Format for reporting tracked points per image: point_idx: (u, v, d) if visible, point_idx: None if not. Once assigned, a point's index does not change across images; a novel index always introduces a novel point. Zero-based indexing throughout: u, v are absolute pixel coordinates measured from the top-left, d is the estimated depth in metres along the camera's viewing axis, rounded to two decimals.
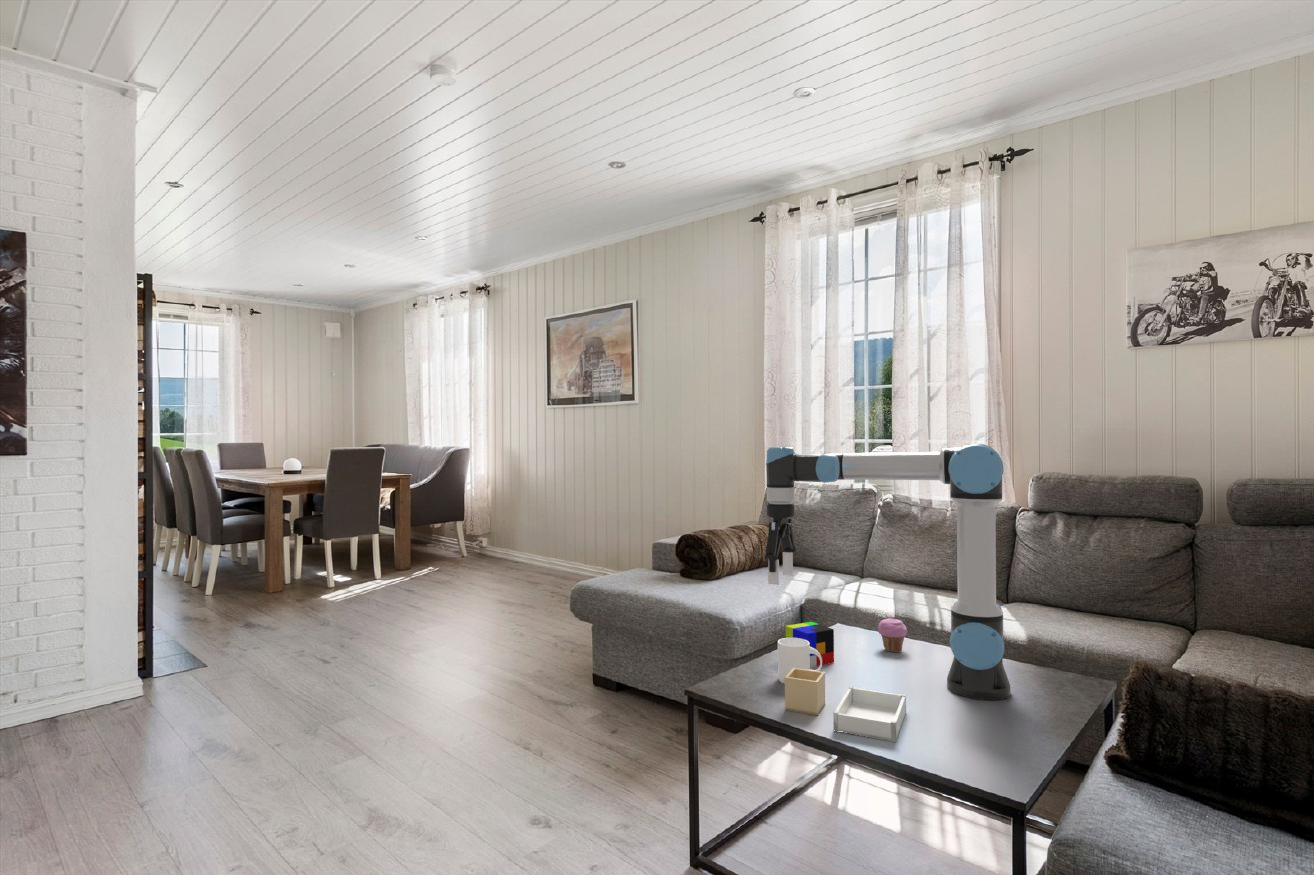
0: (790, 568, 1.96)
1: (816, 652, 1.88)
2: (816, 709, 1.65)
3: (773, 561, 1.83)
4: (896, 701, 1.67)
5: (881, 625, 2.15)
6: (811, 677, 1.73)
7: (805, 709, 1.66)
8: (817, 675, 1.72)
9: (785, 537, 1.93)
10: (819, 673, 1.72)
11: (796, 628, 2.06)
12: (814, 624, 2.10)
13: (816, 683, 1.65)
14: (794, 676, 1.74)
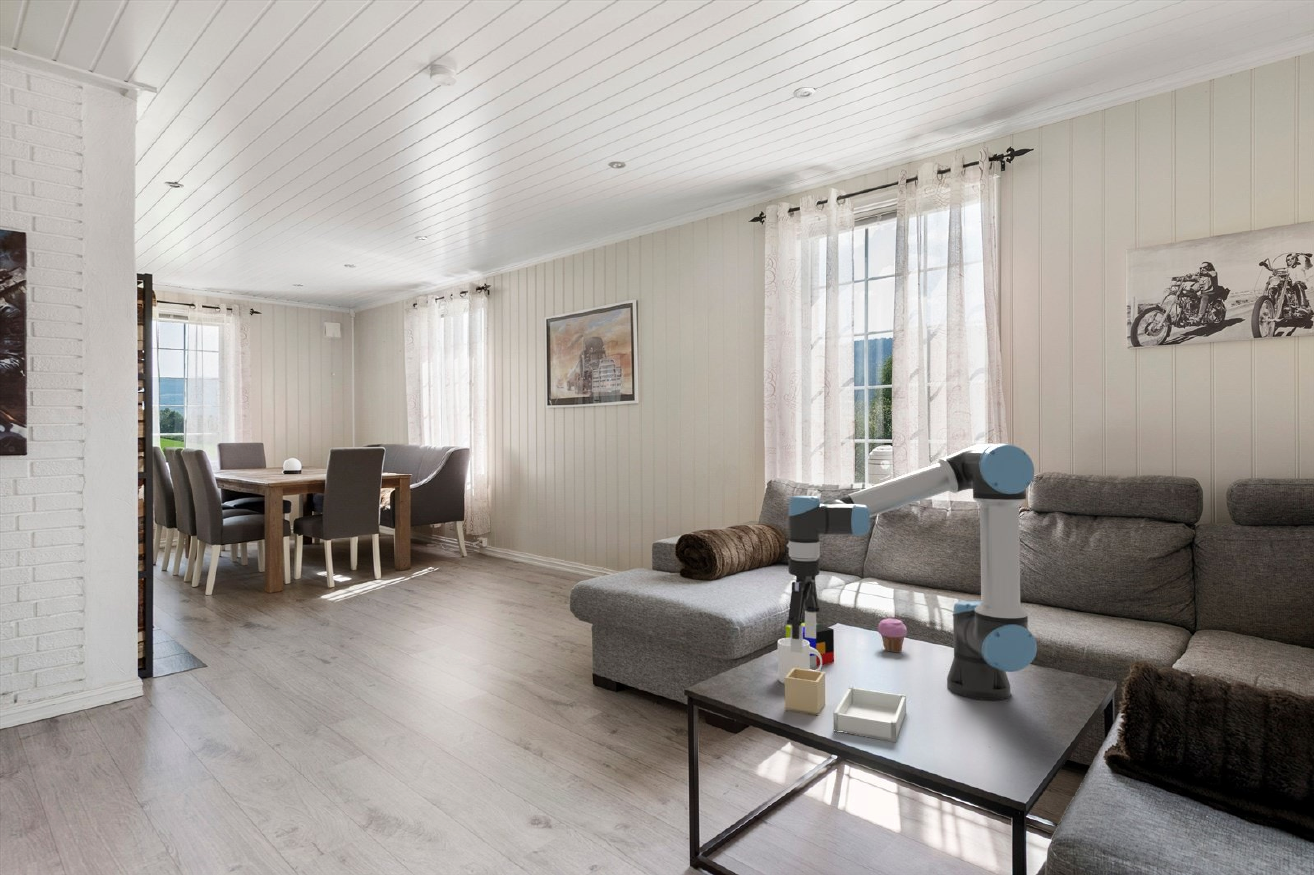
0: (813, 630, 1.75)
1: (816, 652, 1.88)
2: (816, 709, 1.65)
3: (796, 627, 1.62)
4: (896, 701, 1.67)
5: (881, 625, 2.15)
6: (811, 677, 1.73)
7: (805, 709, 1.66)
8: (817, 675, 1.72)
9: (808, 596, 1.73)
10: (819, 673, 1.72)
11: None
12: None
13: (816, 683, 1.65)
14: (794, 676, 1.74)
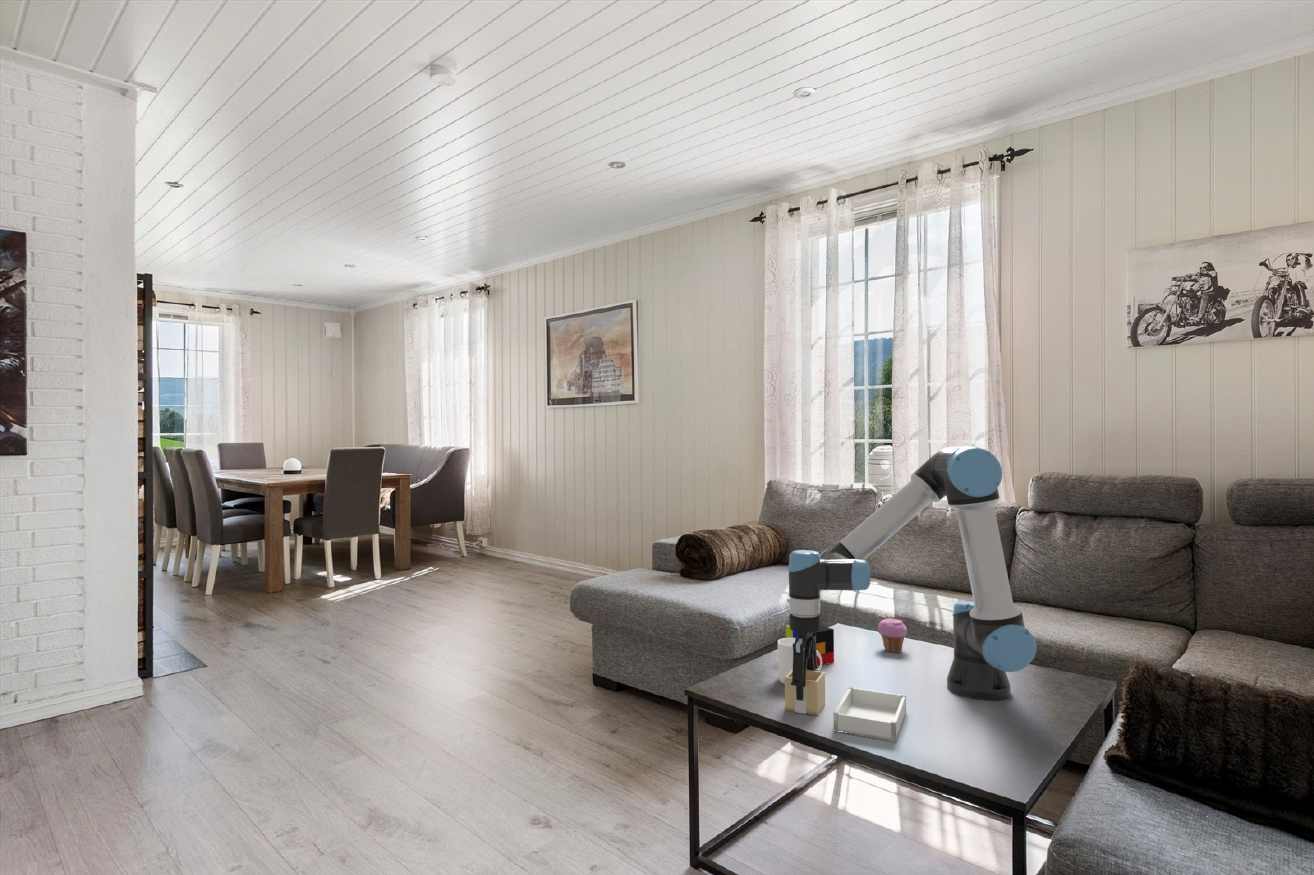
0: None
1: (816, 652, 1.88)
2: (816, 709, 1.65)
3: (800, 688, 1.64)
4: (896, 701, 1.67)
5: (881, 625, 2.15)
6: (811, 677, 1.73)
7: None
8: (817, 675, 1.72)
9: None
10: (819, 673, 1.72)
11: None
12: None
13: (816, 683, 1.65)
14: None
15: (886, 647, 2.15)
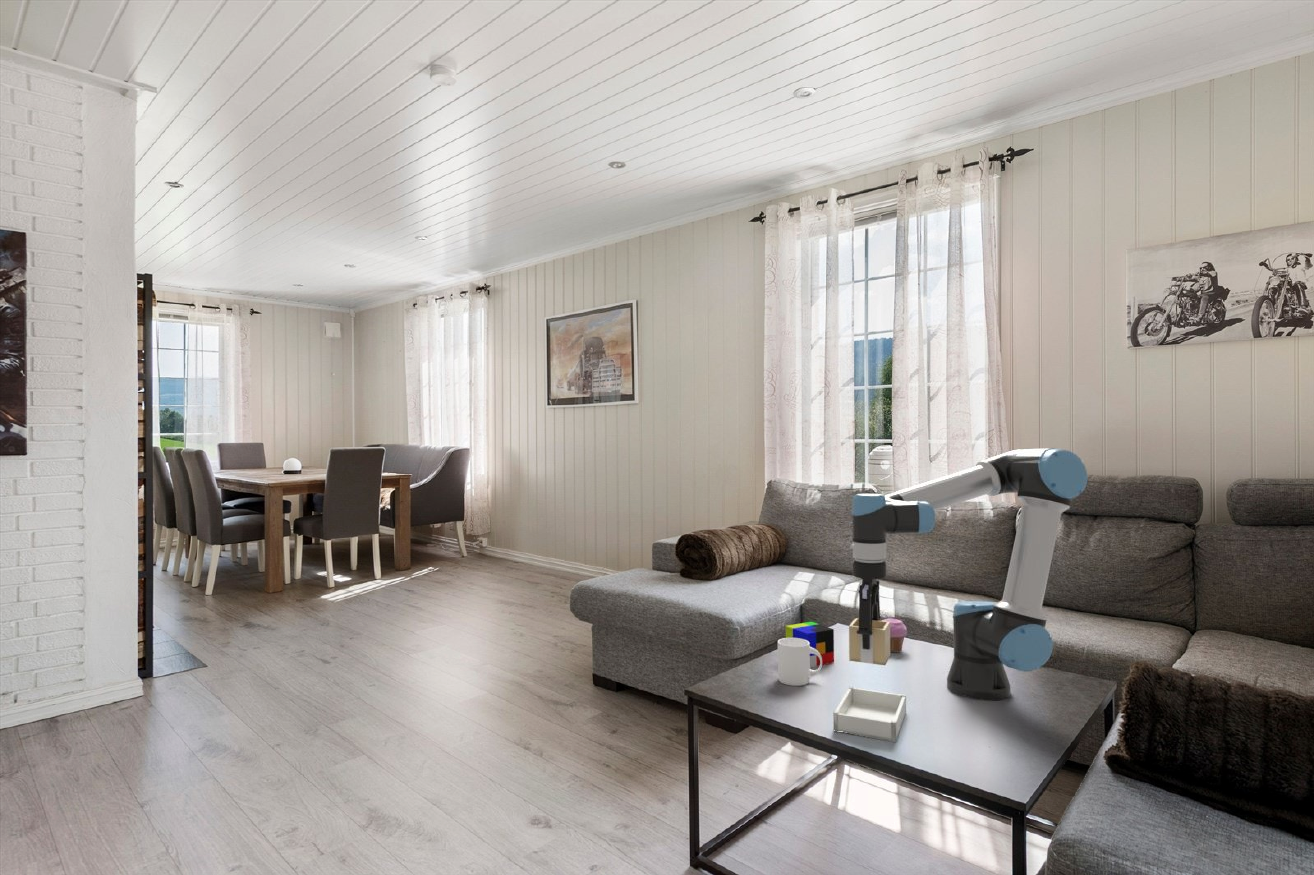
0: None
1: (816, 652, 1.88)
2: (883, 658, 1.56)
3: (867, 636, 1.56)
4: (896, 701, 1.67)
5: None
6: (875, 627, 1.64)
7: None
8: (881, 625, 1.63)
9: None
10: (884, 623, 1.63)
11: (796, 628, 2.06)
12: (814, 624, 2.10)
13: (883, 631, 1.56)
14: None
15: None
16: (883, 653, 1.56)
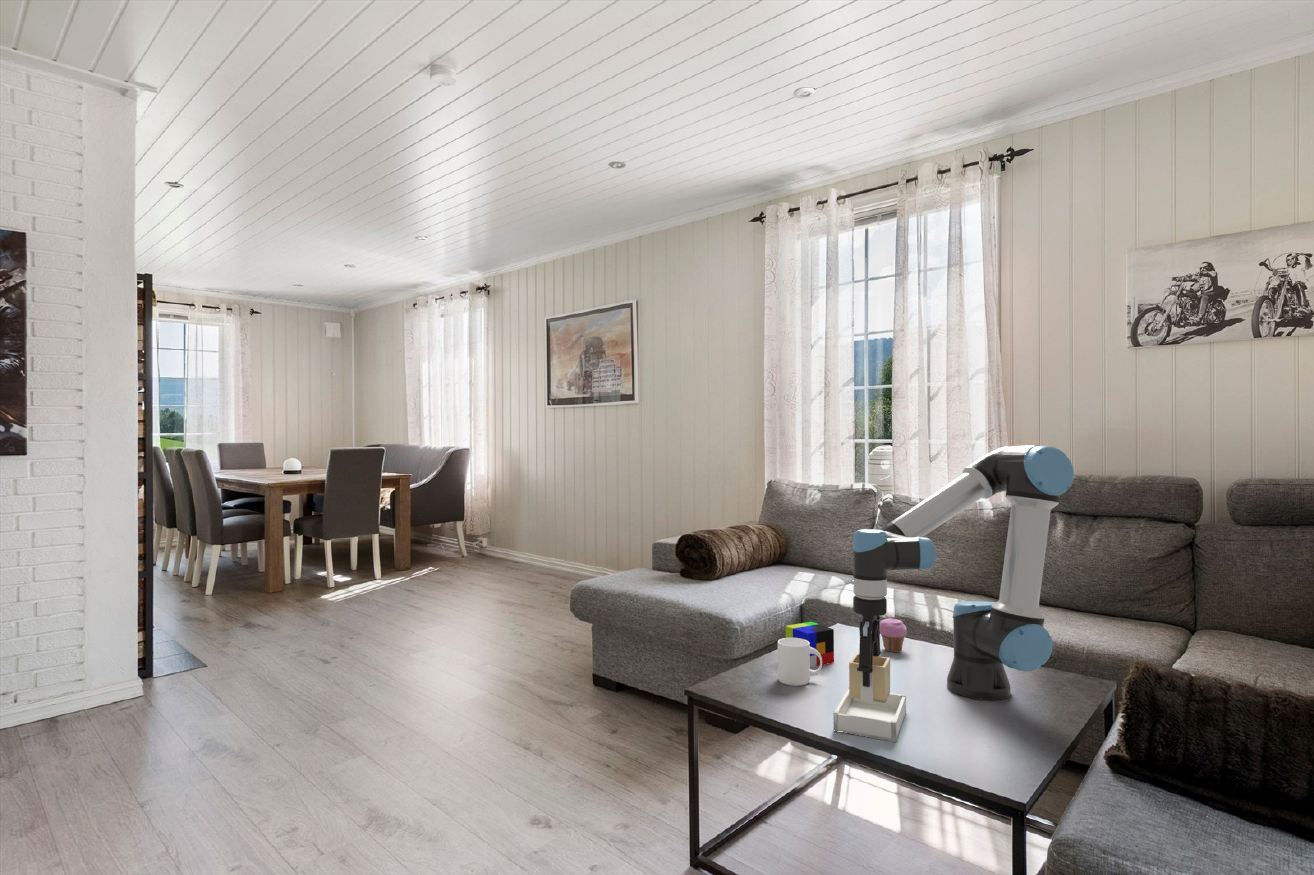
0: None
1: (816, 652, 1.88)
2: (883, 696, 1.56)
3: (867, 674, 1.55)
4: (896, 701, 1.67)
5: (881, 625, 2.15)
6: (875, 663, 1.64)
7: None
8: (882, 661, 1.63)
9: None
10: (884, 659, 1.63)
11: (796, 628, 2.06)
12: (814, 624, 2.10)
13: (884, 668, 1.56)
14: (857, 662, 1.65)
15: (886, 647, 2.15)
16: (883, 691, 1.56)
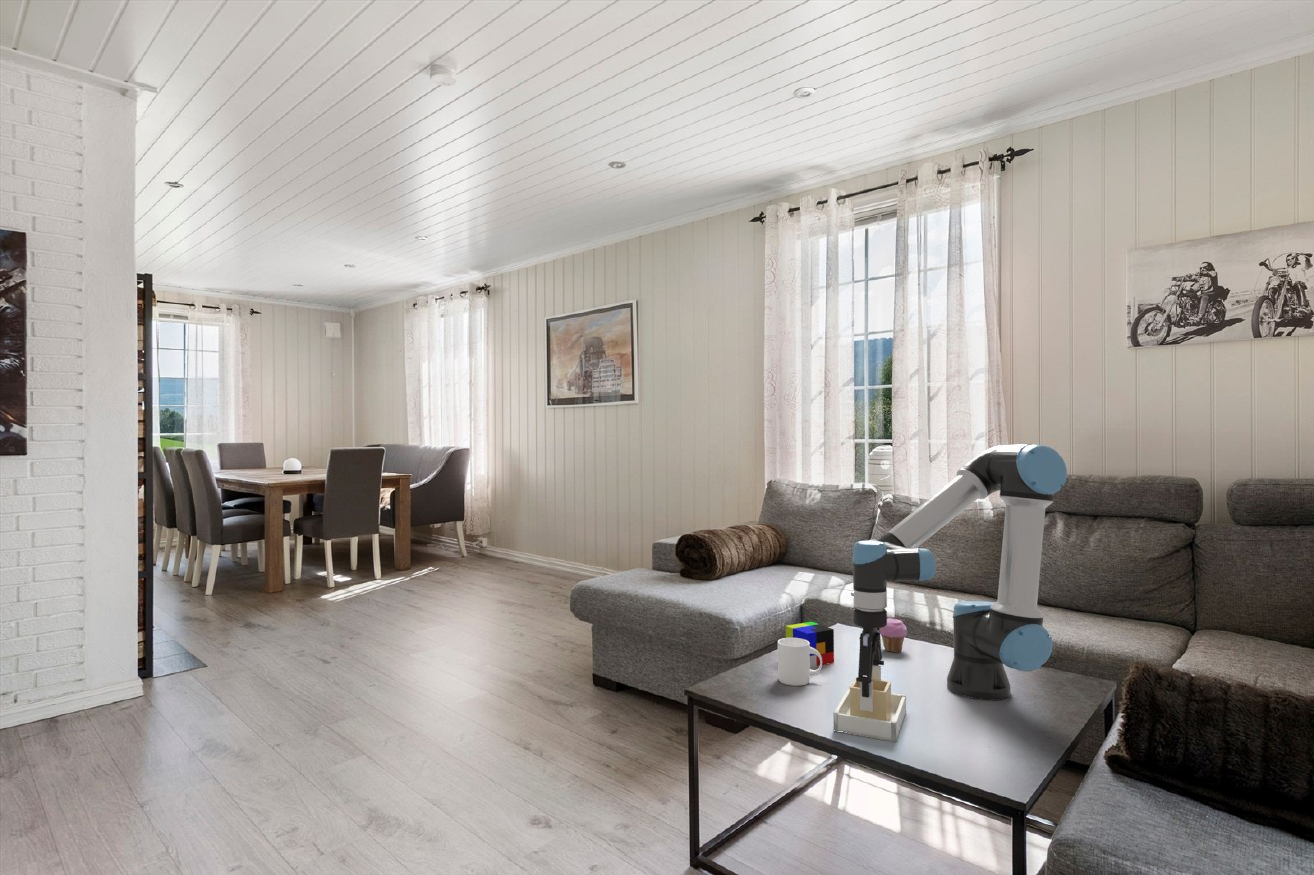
0: None
1: (816, 652, 1.88)
2: None
3: (867, 684, 1.54)
4: (896, 701, 1.67)
5: None
6: (876, 687, 1.64)
7: None
8: (882, 685, 1.63)
9: None
10: (885, 682, 1.63)
11: (796, 628, 2.06)
12: (814, 624, 2.10)
13: (884, 693, 1.56)
14: (858, 686, 1.65)
15: (886, 647, 2.15)
16: (884, 716, 1.56)
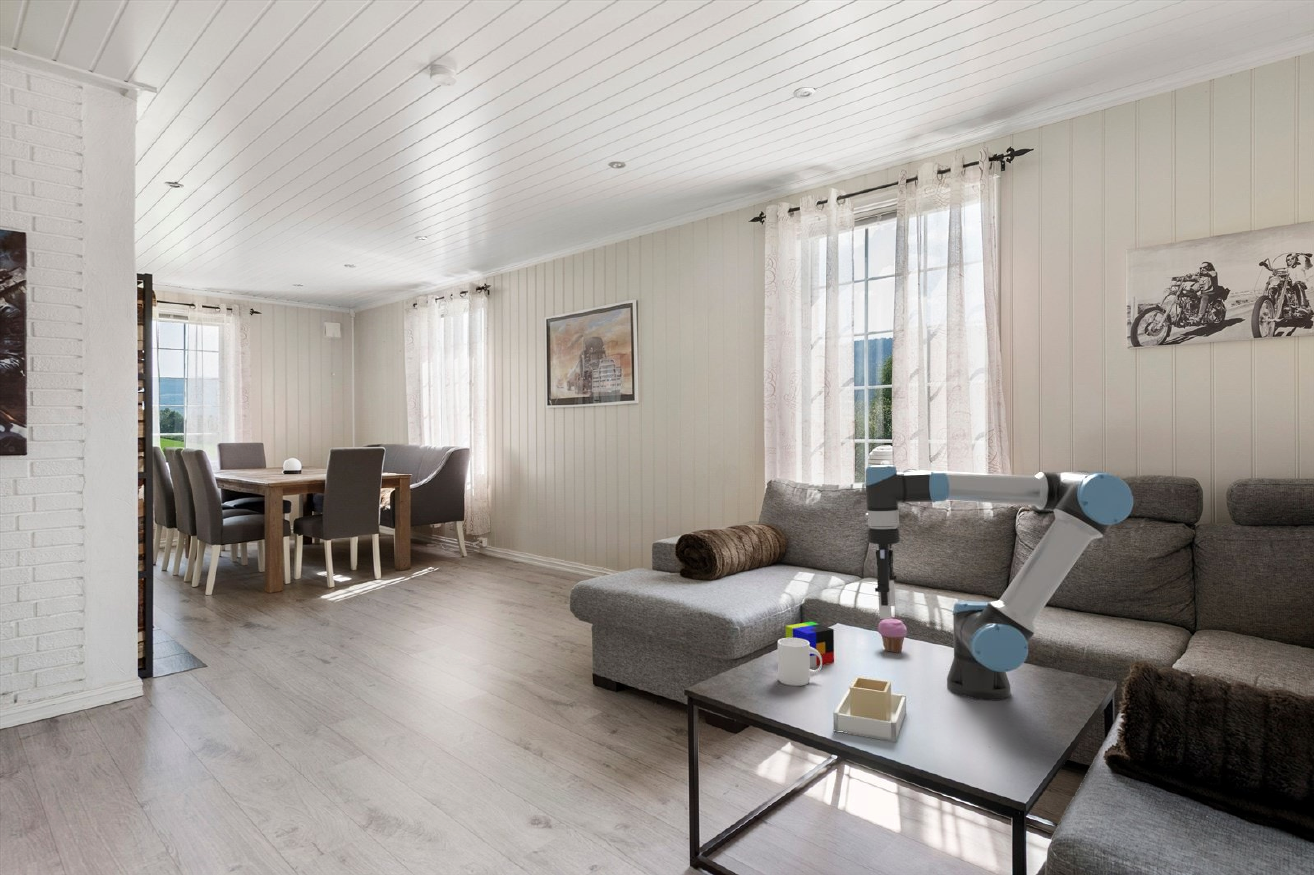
0: (892, 598, 1.78)
1: (816, 652, 1.88)
2: None
3: (885, 593, 1.64)
4: (896, 701, 1.67)
5: (881, 625, 2.15)
6: (876, 687, 1.64)
7: None
8: (882, 685, 1.63)
9: None
10: (885, 682, 1.63)
11: (796, 628, 2.06)
12: (814, 624, 2.10)
13: (884, 693, 1.56)
14: (858, 686, 1.65)
15: (886, 647, 2.15)
16: (884, 716, 1.56)
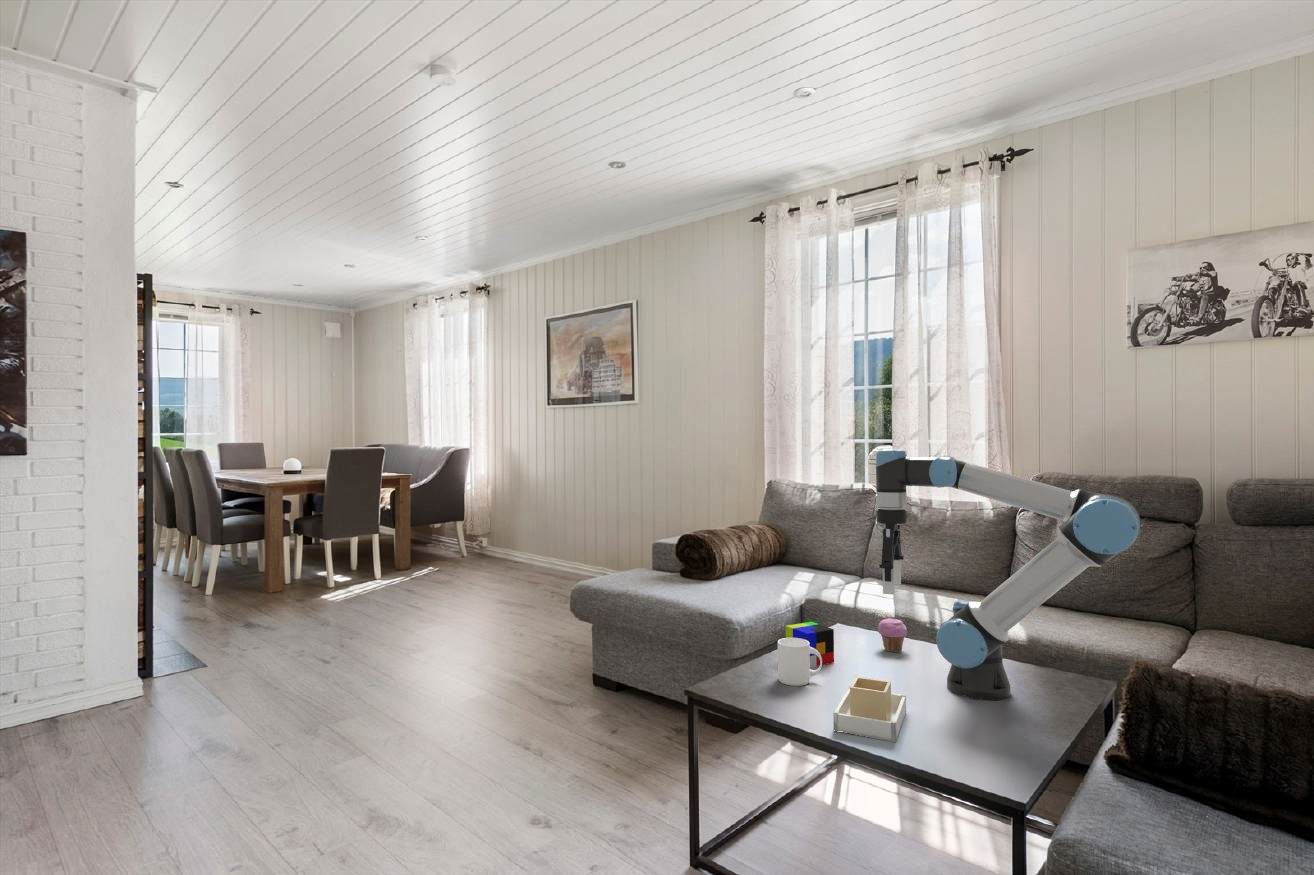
0: (898, 577, 1.86)
1: (816, 652, 1.88)
2: None
3: (889, 570, 1.73)
4: (896, 701, 1.67)
5: (881, 625, 2.15)
6: (876, 687, 1.64)
7: None
8: (882, 685, 1.63)
9: None
10: (885, 682, 1.63)
11: (796, 628, 2.06)
12: (814, 624, 2.10)
13: (884, 693, 1.56)
14: (858, 686, 1.65)
15: (886, 647, 2.15)
16: (884, 716, 1.56)
